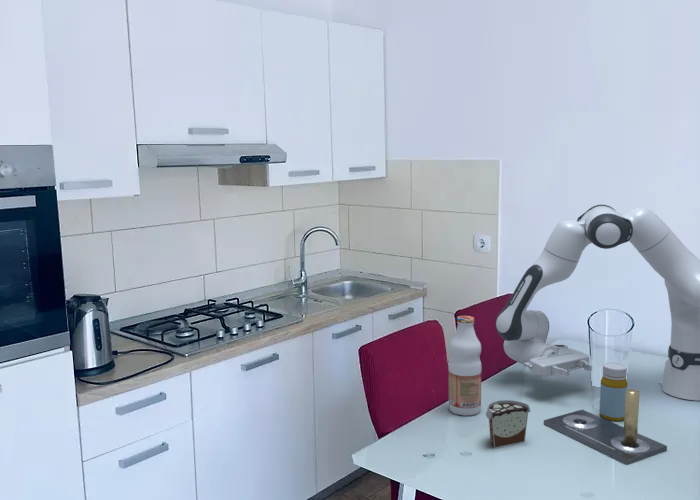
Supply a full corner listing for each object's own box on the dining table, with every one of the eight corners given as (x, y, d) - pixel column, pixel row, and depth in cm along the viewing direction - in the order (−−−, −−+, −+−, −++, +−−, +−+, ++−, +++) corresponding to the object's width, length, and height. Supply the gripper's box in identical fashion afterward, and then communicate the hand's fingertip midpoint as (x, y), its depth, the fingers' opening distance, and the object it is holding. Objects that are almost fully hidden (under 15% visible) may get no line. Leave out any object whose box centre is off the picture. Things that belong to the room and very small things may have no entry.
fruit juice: (441, 410, 189) (442, 317, 185) (460, 401, 195) (461, 311, 191) (468, 419, 182) (470, 323, 178) (487, 409, 189) (488, 317, 185)
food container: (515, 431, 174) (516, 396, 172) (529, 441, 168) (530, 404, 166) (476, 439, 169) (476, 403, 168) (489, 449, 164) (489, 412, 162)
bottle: (628, 422, 178) (631, 370, 176) (601, 420, 180) (604, 369, 177) (623, 412, 185) (625, 362, 183) (597, 411, 186) (599, 361, 184)
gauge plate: (582, 413, 185) (584, 361, 183) (666, 450, 161) (670, 391, 159) (543, 424, 178) (545, 371, 176) (626, 464, 154) (629, 403, 152)
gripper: (520, 353, 198) (554, 366, 186) (568, 343, 208) (603, 355, 196) (519, 373, 199) (553, 387, 187) (567, 362, 209) (602, 375, 197)
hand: (579, 370), depth 191 cm, fingers open, 8 cm apart
